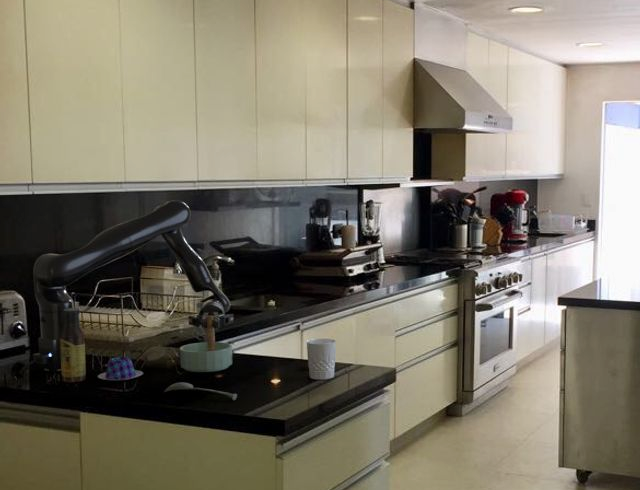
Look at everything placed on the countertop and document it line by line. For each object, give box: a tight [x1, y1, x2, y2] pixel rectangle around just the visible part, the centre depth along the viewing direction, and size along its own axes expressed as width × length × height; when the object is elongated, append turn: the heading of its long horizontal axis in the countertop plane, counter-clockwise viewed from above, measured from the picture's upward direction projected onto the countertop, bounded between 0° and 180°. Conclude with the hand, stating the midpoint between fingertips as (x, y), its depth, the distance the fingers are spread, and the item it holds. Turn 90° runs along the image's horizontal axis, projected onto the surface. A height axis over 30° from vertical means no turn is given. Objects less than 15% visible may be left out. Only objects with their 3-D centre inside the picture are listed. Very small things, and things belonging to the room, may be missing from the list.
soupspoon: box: [163, 381, 238, 401], centre depth 235 cm, size 22×3×7 cm
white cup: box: [306, 338, 337, 381], centre depth 254 cm, size 8×8×10 cm
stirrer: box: [206, 316, 216, 351], centre depth 269 cm, size 5×5×13 cm
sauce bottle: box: [60, 307, 87, 384], centre depth 252 cm, size 6×6×20 cm
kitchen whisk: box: [191, 325, 207, 343], centre depth 299 cm, size 6×34×6 cm, turn 22°
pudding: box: [97, 356, 144, 382], centre depth 257 cm, size 12×12×5 cm
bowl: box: [179, 341, 234, 373], centre depth 268 cm, size 15×15×6 cm
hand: (210, 324), depth 266 cm, fingers closed on stirrer
